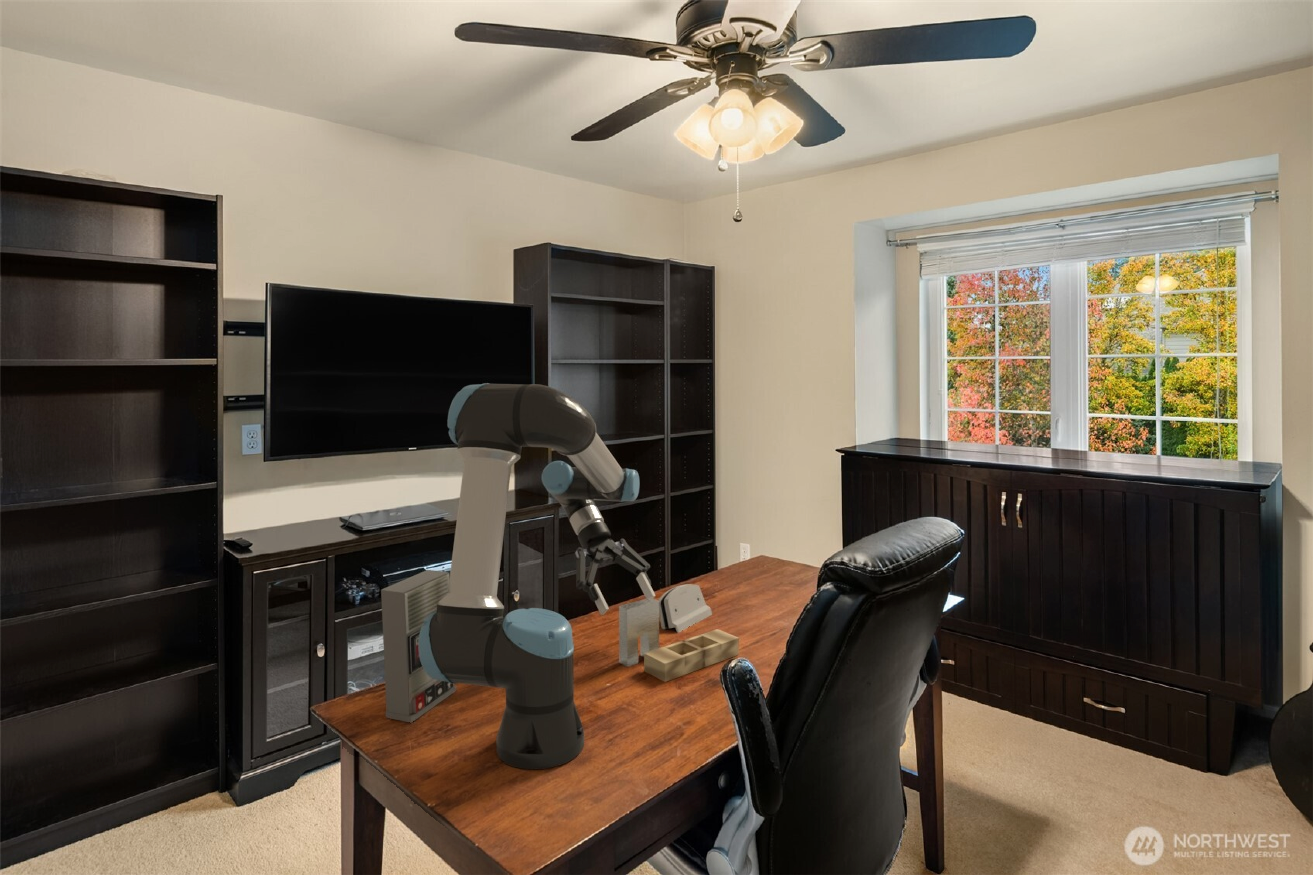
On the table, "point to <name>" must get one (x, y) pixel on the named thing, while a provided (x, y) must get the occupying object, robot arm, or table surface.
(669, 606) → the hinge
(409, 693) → the cassette tape recorder
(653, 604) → the grey notched block
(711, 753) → the table surface
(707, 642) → the beige open box
